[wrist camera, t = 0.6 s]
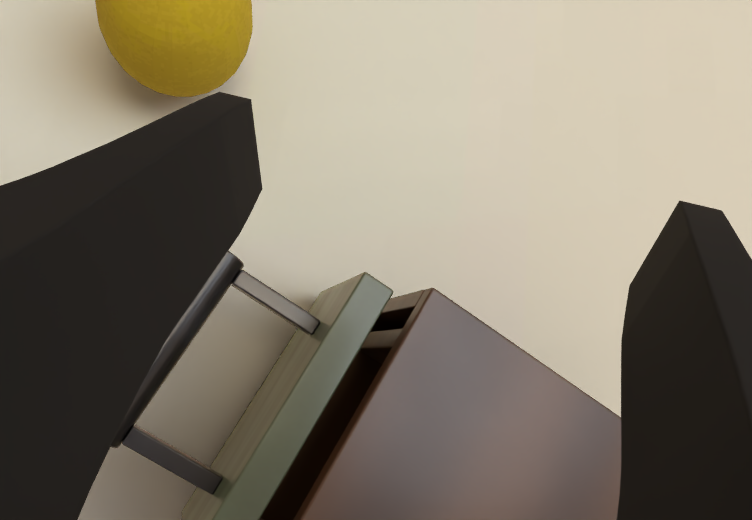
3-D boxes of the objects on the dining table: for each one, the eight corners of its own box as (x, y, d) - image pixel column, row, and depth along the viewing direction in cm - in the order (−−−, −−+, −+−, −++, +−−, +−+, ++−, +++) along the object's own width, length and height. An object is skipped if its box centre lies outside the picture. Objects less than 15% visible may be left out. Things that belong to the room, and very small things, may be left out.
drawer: (70, 450, 21) (20, 491, 15) (228, 229, 24) (242, 186, 18) (456, 665, 25) (548, 774, 18) (555, 446, 28) (664, 474, 21)
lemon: (102, 112, 24) (63, 6, 17) (120, -7, 25) (91, -158, 18) (236, 135, 26) (255, 47, 18) (249, 22, 27) (272, -106, 19)
